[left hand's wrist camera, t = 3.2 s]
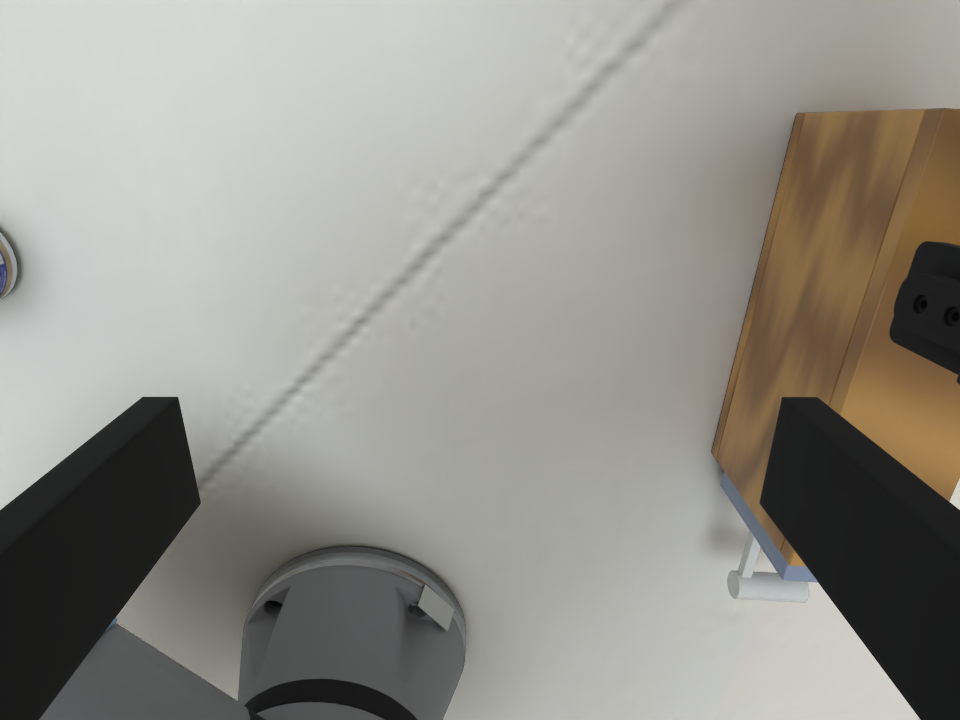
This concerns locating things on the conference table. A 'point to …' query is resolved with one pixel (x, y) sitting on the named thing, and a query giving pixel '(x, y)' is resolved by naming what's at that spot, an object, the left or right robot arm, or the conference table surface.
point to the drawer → (767, 585)
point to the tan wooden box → (848, 296)
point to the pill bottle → (6, 267)
